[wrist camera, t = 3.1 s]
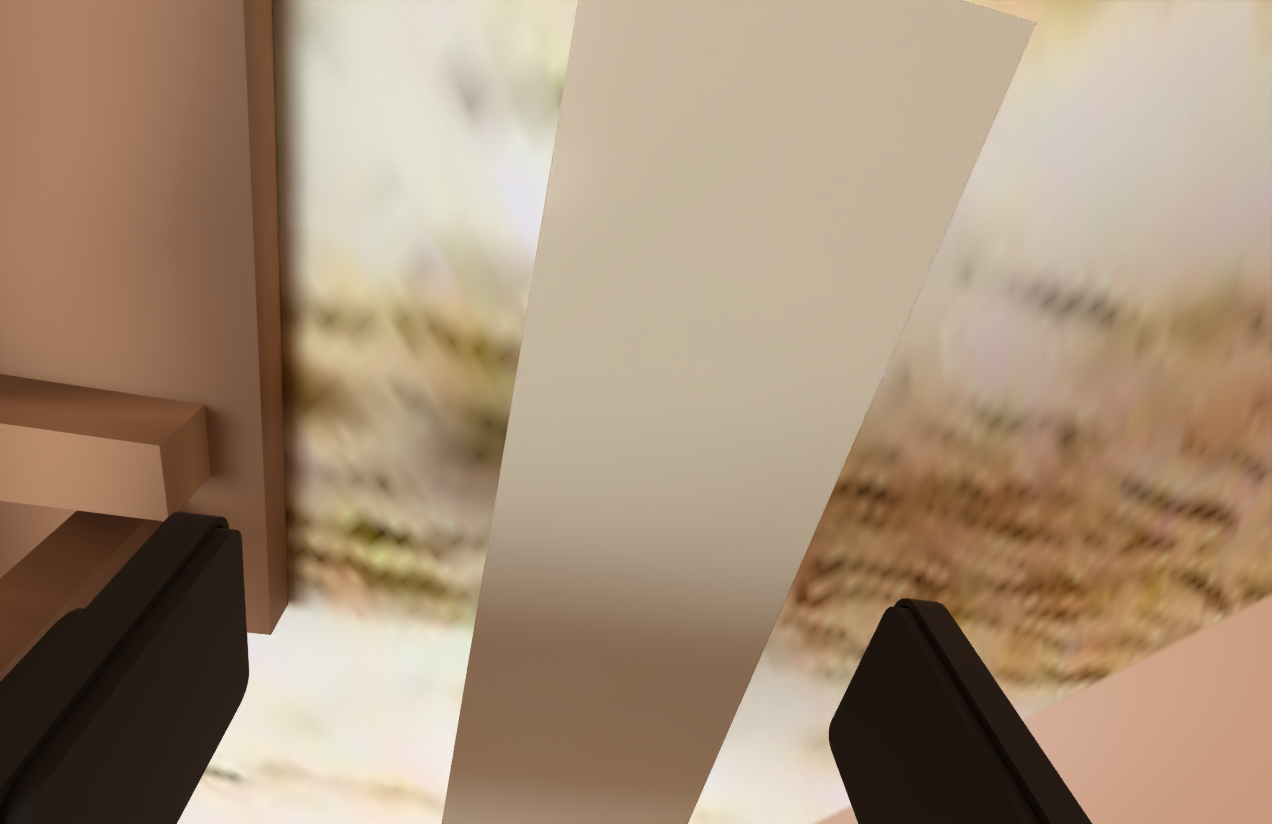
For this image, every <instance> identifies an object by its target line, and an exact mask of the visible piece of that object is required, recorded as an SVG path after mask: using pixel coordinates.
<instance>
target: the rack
mask: <svg viewBox="0 0 1272 824" xmlns="http://www.w3.org/2000/svg"><path fill="white" fill-rule="evenodd" d="M175 512H187V513H195V514H204V515H212V516H220V517H224V518H226V520H227V521H228V524H229V529H235V530H239V531H240V533H241V536H242V549H243V568H244V587H245V605H246V624H247V632H249V633H258V634H268V635H271V634H272V632H273V630H274V628H275V626H276V625H277V623H278V621H279V619H280V617H281V616H282V614H283V612H284V610H285V608H286V607H287V605H288V575H287V538H286V501H285V464H284V427H283V390H282V353H281V316H280V279H279V242H278V205H277V168H276V131H275V94H274V57H273V20H272V0H0V681H1V680H2V679H3V678H4V677H5V676H6V675H7V674H8V673H9V672H10V671H11V670H12V669H13V668H14V666H15V665H16V664H17V663H18V662H19V661H20V660H21V659H22V658H23V657H24V656H25V655H26V654H27V653H28V652H29V650H30V649H31V648H32V647H33V646H34V645H35V644H36V643H37V642H38V641H39V640H40V639H41V638H42V637H43V636H44V634H45V633H46V632H47V631H48V630H49V629H50V628H51V627H52V626H53V625H54V624H55V623H56V622H57V621H58V620H59V619H61V618H62V617H63V616H64V615H65V614H66V613H68V612H70V611H72V610H75V609H77V608H86V607H87V606H88V605H89V603H90V602H91V601H92V600H93V599H94V598H95V597H96V596H97V595H98V594H99V592H100V591H101V590H102V589H103V588H104V587H105V586H106V585H107V584H108V583H109V581H110V580H111V579H112V578H113V577H114V576H115V575H116V574H117V573H118V572H119V570H120V569H121V568H122V567H123V566H124V565H125V564H126V563H127V562H128V561H129V559H130V558H131V557H132V556H133V555H134V554H135V553H136V552H137V551H138V550H139V548H140V547H141V546H142V545H143V544H144V543H145V542H146V541H147V540H148V539H149V537H150V536H151V535H152V534H153V533H154V532H155V531H156V530H157V529H158V528H159V526H160V525H161V524H162V523H163V522H164V521H165V520H166V519H167V518H168V517H169V516H170V515H171V514H173V513H175Z"/></svg>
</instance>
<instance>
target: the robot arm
mask: <svg viewBox="0 0 1272 824" xmlns="http://www.w3.org/2000/svg"><path fill="white" fill-rule="evenodd" d="M248 679H249V661H248V643H247V624H246V605H245V587H244V568H243V549H242V536H241V533H240V531H239V530H235V529H229V524H228V521H227V520H226V518H224V517H220V516H212V515H204V514H195V513H187V512H175V513H173V514H171V515H170V516H169V517H168V518H167V519H166V520H165V521H164V522H163V523H162V524H161V525H160V526H159V528H158V529H157V530H156V531H155V532H154V533H153V534H152V535H151V536H150V537H149V539H148V540H147V541H146V542H145V543H144V544H143V545H142V546H141V547H140V548H139V550H138V551H137V552H136V553H135V554H134V555H133V556H132V557H131V558H130V559H129V561H128V562H127V563H126V564H125V565H124V566H123V567H122V568H121V569H120V570H119V572H118V573H117V574H116V575H115V576H114V577H113V578H112V579H111V580H110V581H109V583H108V584H107V585H106V586H105V587H104V588H103V589H102V590H101V591H100V592H99V594H98V595H97V596H96V597H95V598H94V599H93V600H92V601H91V602H90V603H89V605H88V606H87V607H86V608H77V609H75V610H72V611H70V612H68V613H66V614H65V615H64V616H63V617H62V618H61V619H59V620H58V621H57V622H56V623H55V624H54V625H53V626H52V627H51V628H50V629H49V630H48V631H47V632H46V633H45V634H44V636H43V637H42V638H41V639H40V640H39V641H38V642H37V643H36V644H35V645H34V646H33V647H32V648H31V649H30V650H29V652H28V653H27V654H26V655H25V656H24V657H23V658H22V659H21V660H20V661H19V662H18V663H17V664H16V665H15V666H14V668H13V669H12V670H11V671H10V672H9V673H8V674H7V675H6V676H5V677H4V678H3V679H2V680H1V681H0V824H177V822H178V820H179V818H180V817H181V815H182V813H183V811H184V809H185V807H186V805H187V803H188V802H189V800H190V798H191V796H192V794H193V792H194V790H195V788H196V786H197V785H198V783H199V781H200V779H201V777H202V775H203V773H204V771H205V769H206V768H207V766H208V764H209V762H210V760H211V758H212V756H213V754H214V753H215V751H216V749H217V747H218V745H219V743H220V741H221V739H222V737H223V736H224V734H225V732H226V730H227V728H228V726H229V724H230V722H231V720H232V719H233V717H234V715H235V713H236V711H237V709H238V707H239V705H240V703H241V701H242V699H243V697H244V694H245V691H246V688H247V684H248ZM829 743H830V747H831V751H832V753H833V756H834V759H835V761H836V764H837V767H838V770H839V772H840V775H841V778H842V780H843V783H844V786H845V789H846V791H847V794H848V797H849V800H850V802H851V805H852V808H853V810H854V813H855V816H856V819H857V821H858V824H1092V823H1091V821H1090V820H1089V818H1088V817H1087V815H1086V814H1085V813H1084V811H1083V809H1082V808H1081V807H1080V805H1079V804H1078V802H1077V801H1076V799H1075V798H1074V796H1073V795H1072V793H1071V792H1070V791H1069V789H1068V787H1067V786H1066V784H1065V783H1064V781H1063V780H1062V778H1061V777H1060V775H1059V774H1058V772H1057V771H1056V770H1055V768H1054V767H1053V765H1052V764H1051V762H1050V761H1049V759H1048V758H1047V756H1046V755H1045V753H1044V752H1043V750H1042V749H1041V748H1040V746H1039V744H1038V743H1037V741H1036V740H1035V738H1034V737H1033V735H1032V734H1031V733H1030V731H1029V730H1028V728H1027V727H1026V725H1025V724H1024V722H1023V721H1022V719H1021V718H1020V716H1019V715H1018V713H1017V712H1016V710H1015V709H1014V707H1013V706H1012V704H1011V703H1010V701H1009V700H1008V698H1007V697H1006V696H1005V694H1004V693H1003V691H1002V690H1001V688H1000V687H999V685H998V684H997V682H996V681H995V679H994V678H993V676H992V675H991V673H990V672H989V670H988V669H987V667H986V666H985V664H984V663H983V662H982V660H981V659H980V657H979V656H978V654H977V653H976V651H975V650H974V648H973V647H972V645H971V644H970V642H969V641H968V639H967V638H966V636H965V635H964V633H963V632H962V630H961V629H960V627H959V626H958V625H957V623H956V622H955V620H954V619H953V617H952V616H951V614H950V613H949V611H948V610H947V609H946V608H945V606H944V605H943V604H940V603H938V602H932V601H924V600H915V599H907V598H906V599H901V600H899V601H898V602H897V603H896V604H895V606H894V607H889V608H888V609H887V610H886V611H885V612H884V614H883V616H882V618H881V620H880V623H879V625H878V627H877V629H876V631H875V633H874V635H873V637H872V639H871V641H870V643H869V645H868V647H867V649H866V651H865V653H864V655H863V657H862V659H861V661H860V663H859V666H858V668H857V670H856V672H855V674H854V676H853V678H852V680H851V682H850V684H849V686H848V688H847V690H846V692H845V694H844V696H843V698H842V700H841V702H840V704H839V706H838V708H837V711H836V713H835V715H834V717H833V719H832V721H831V723H830V727H829Z"/></svg>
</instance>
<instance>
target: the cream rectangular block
mask: <svg viewBox="0 0 1272 824" xmlns="http://www.w3.org/2000/svg"><path fill="white" fill-rule="evenodd" d="M1035 25H1036V22H1033V21H1029V20H1026V19H1023V18H1019V17H1016V16H1013V15H1009V14H1006V13H1002V12H999V11H996V10H992V9H989V8H986V7H982V6H979V5H976V4H972V3H969V2H966V1H962V0H578V5H577V11H576V17H575V23H574V29H573V35H572V41H571V48H570V54H569V60H568V66H567V72H566V78H565V84H564V90H563V96H562V102H561V108H560V114H559V120H558V126H557V132H556V138H555V144H554V150H553V156H552V162H551V168H550V174H549V180H548V186H547V192H546V198H545V204H544V210H543V216H542V222H541V228H540V234H539V240H538V246H537V252H536V258H535V264H534V270H533V277H532V283H531V289H530V295H529V301H528V307H527V313H526V319H525V325H524V331H523V337H522V343H521V349H520V355H519V361H518V367H517V373H516V379H515V385H514V391H513V397H512V403H511V409H510V415H509V421H508V427H507V433H506V439H505V445H504V451H503V457H502V463H501V469H500V475H499V481H498V487H497V493H496V499H495V506H494V512H493V518H492V524H491V530H490V536H489V542H488V548H487V554H486V560H485V566H484V572H483V578H482V584H481V590H480V596H479V602H478V608H477V614H476V620H475V626H474V632H473V638H472V644H471V650H470V656H469V662H468V668H467V674H466V680H465V686H464V692H463V698H462V704H461V710H460V716H459V722H458V728H457V735H456V741H455V747H454V753H453V759H452V765H451V771H450V777H449V783H448V789H447V795H446V801H445V807H444V813H443V819H442V824H688V822H689V820H690V817H691V815H692V813H693V810H694V808H695V806H696V804H697V801H698V799H699V797H700V794H701V792H702V790H703V787H704V785H705V783H706V781H707V778H708V776H709V774H710V771H711V769H712V767H713V765H714V762H715V760H716V758H717V755H718V753H719V751H720V748H721V746H722V744H723V742H724V739H725V737H726V735H727V732H728V730H729V728H730V725H731V723H732V721H733V719H734V716H735V714H736V712H737V709H738V707H739V705H740V703H741V700H742V698H743V696H744V693H745V691H746V689H747V686H748V684H749V682H750V680H751V677H752V675H753V673H754V670H755V668H756V666H757V663H758V661H759V659H760V657H761V654H762V652H763V650H764V647H765V645H766V643H767V641H768V638H769V636H770V634H771V631H772V629H773V627H774V624H775V622H776V620H777V618H778V615H779V613H780V611H781V608H782V606H783V604H784V601H785V599H786V597H787V595H788V592H789V590H790V588H791V585H792V583H793V581H794V579H795V576H796V574H797V572H798V569H799V567H800V565H801V562H802V560H803V558H804V556H805V553H806V551H807V549H808V546H809V544H810V542H811V539H812V537H813V535H814V533H815V530H816V528H817V526H818V523H819V521H820V519H821V517H822V514H823V512H824V510H825V507H826V505H827V503H828V500H829V498H830V496H831V494H832V491H833V489H834V487H835V484H836V482H837V480H838V477H839V475H840V473H841V471H842V468H843V466H844V464H845V461H846V459H847V457H848V455H849V452H850V450H851V448H852V445H853V443H854V441H855V438H856V436H857V434H858V432H859V429H860V427H861V425H862V422H863V420H864V418H865V415H866V413H867V411H868V409H869V406H870V404H871V402H872V399H873V397H874V395H875V393H876V390H877V388H878V386H879V383H880V381H881V379H882V376H883V374H884V372H885V370H886V367H887V365H888V363H889V360H890V358H891V356H892V353H893V351H894V349H895V347H896V344H897V342H898V340H899V337H900V335H901V333H902V331H903V328H904V326H905V324H906V321H907V319H908V317H909V314H910V312H911V310H912V308H913V305H914V303H915V301H916V298H917V296H918V294H919V291H920V289H921V287H922V285H923V282H924V280H925V278H926V275H927V273H928V271H929V269H930V266H931V264H932V262H933V259H934V257H935V255H936V252H937V250H938V248H939V246H940V243H941V241H942V239H943V236H944V234H945V232H946V229H947V227H948V225H949V223H950V220H951V218H952V216H953V213H954V211H955V209H956V207H957V204H958V202H959V200H960V197H961V195H962V193H963V190H964V188H965V186H966V184H967V181H968V179H969V177H970V174H971V172H972V170H973V167H974V165H975V163H976V161H977V158H978V156H979V154H980V151H981V149H982V147H983V145H984V142H985V140H986V138H987V135H988V133H989V131H990V128H991V126H992V124H993V122H994V119H995V117H996V115H997V112H998V110H999V108H1000V105H1001V103H1002V101H1003V99H1004V96H1005V94H1006V92H1007V89H1008V87H1009V85H1010V83H1011V80H1012V78H1013V76H1014V73H1015V71H1016V69H1017V66H1018V64H1019V62H1020V60H1021V57H1022V55H1023V53H1024V50H1025V48H1026V46H1027V43H1028V41H1029V39H1030V37H1031V34H1032V32H1033V30H1034V27H1035Z"/></svg>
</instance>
